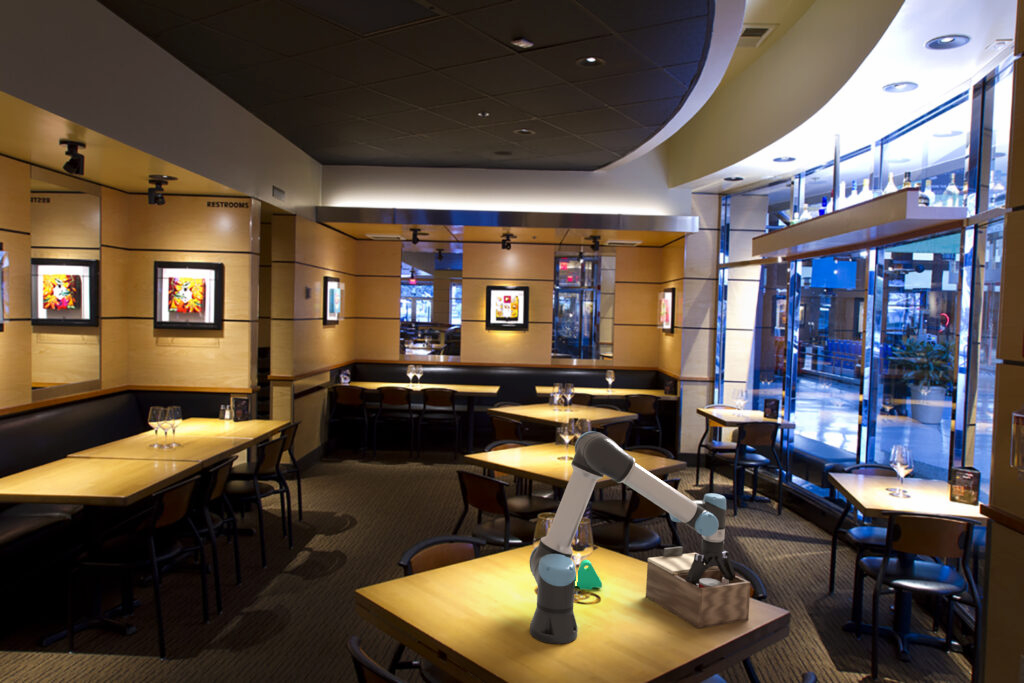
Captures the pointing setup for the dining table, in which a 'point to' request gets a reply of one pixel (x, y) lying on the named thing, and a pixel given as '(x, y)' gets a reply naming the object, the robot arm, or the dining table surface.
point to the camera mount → (587, 576)
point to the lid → (675, 560)
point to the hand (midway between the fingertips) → (709, 599)
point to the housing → (699, 597)
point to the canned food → (708, 582)
